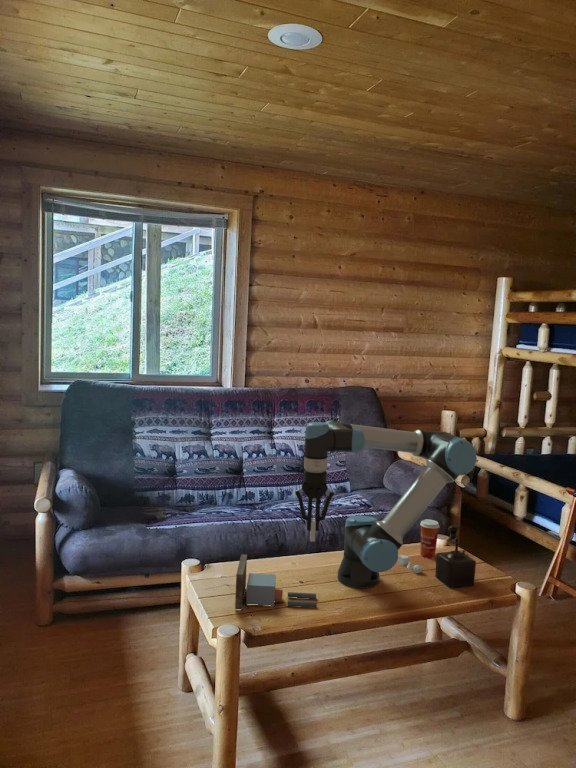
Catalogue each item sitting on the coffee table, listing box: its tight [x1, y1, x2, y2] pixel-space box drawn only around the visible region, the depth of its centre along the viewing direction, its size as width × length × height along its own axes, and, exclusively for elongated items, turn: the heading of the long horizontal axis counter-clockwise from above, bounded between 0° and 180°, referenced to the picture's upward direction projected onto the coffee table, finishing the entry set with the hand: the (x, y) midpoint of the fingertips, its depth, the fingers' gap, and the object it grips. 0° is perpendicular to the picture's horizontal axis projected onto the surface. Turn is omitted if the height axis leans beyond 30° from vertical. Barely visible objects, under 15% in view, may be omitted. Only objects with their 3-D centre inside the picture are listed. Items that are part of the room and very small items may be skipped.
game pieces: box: [397, 554, 423, 574], centre depth 226 cm, size 12×3×3 cm, turn 24°
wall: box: [234, 553, 248, 610], centre depth 194 cm, size 2×16×12 cm, turn 179°
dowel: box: [274, 588, 284, 603], centre depth 194 cm, size 10×4×4 cm, turn 89°
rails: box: [286, 591, 318, 609], centre depth 194 cm, size 10×7×2 cm
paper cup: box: [419, 519, 441, 559], centre depth 239 cm, size 8×8×14 cm
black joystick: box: [434, 525, 477, 589], centre depth 218 cm, size 16×11×18 cm
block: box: [245, 572, 277, 607], centre depth 194 cm, size 9×9×7 cm
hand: (312, 539), depth 194 cm, fingers closed
